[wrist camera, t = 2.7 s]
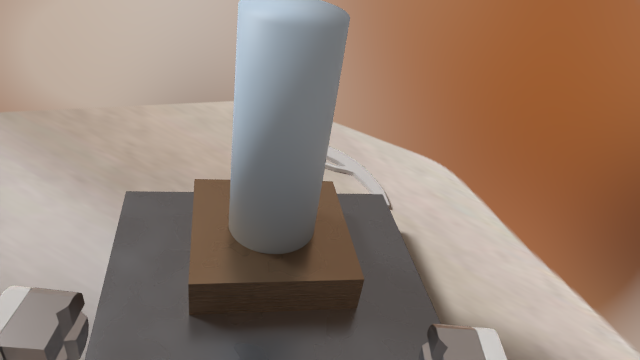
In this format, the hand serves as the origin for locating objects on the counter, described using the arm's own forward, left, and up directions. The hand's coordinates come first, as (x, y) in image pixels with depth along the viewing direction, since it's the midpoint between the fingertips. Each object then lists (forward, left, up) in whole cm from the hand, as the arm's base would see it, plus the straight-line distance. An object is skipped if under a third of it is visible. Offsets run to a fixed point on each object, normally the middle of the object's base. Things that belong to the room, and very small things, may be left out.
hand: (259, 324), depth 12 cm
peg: (+2, +12, -7) cm, 14 cm away
